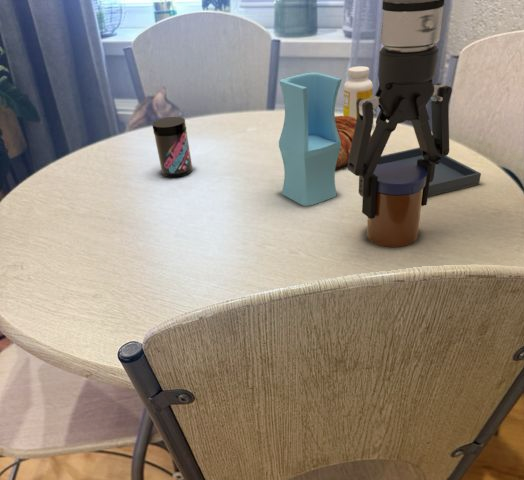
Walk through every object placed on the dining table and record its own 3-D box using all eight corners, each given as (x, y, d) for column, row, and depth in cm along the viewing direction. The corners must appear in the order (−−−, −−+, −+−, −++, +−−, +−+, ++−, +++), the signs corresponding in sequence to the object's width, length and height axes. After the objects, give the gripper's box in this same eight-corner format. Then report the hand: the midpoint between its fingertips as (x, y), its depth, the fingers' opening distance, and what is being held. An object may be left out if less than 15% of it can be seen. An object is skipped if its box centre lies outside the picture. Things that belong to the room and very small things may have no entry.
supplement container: (158, 179, 112) (148, 128, 106) (165, 167, 118) (155, 117, 111) (190, 177, 112) (182, 126, 105) (195, 165, 117) (187, 115, 110)
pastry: (390, 163, 110) (393, 123, 105) (319, 175, 108) (319, 135, 102) (359, 138, 122) (360, 101, 117) (295, 148, 120) (294, 111, 115)
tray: (479, 184, 99) (481, 173, 97) (412, 200, 96) (413, 189, 94) (425, 155, 111) (427, 145, 110) (365, 169, 108) (366, 159, 107)
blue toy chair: (305, 207, 97) (302, 88, 84) (281, 193, 102) (275, 80, 89) (339, 195, 100) (342, 78, 87) (314, 182, 105) (313, 71, 92)
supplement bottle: (375, 124, 129) (378, 65, 121) (363, 132, 125) (366, 72, 117) (350, 121, 132) (351, 64, 124) (338, 129, 128) (339, 71, 120)
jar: (427, 239, 84) (435, 179, 78) (382, 251, 83) (387, 190, 76) (400, 219, 90) (405, 162, 84) (358, 230, 88) (360, 172, 82)
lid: (437, 187, 79) (439, 176, 78) (386, 199, 77) (387, 188, 76) (405, 168, 85) (406, 158, 84) (358, 179, 83) (358, 168, 82)
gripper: (349, 63, 64) (344, 234, 78) (496, 38, 69) (466, 203, 83) (322, 53, 69) (322, 214, 84) (460, 30, 74) (438, 186, 89)
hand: (394, 208), depth 84 cm, fingers closed on lid, 8 cm apart
